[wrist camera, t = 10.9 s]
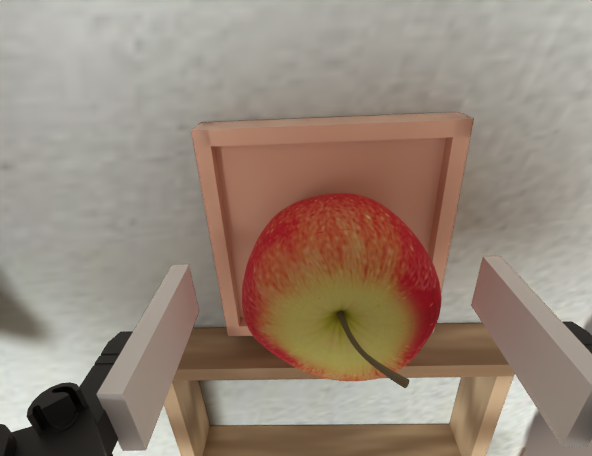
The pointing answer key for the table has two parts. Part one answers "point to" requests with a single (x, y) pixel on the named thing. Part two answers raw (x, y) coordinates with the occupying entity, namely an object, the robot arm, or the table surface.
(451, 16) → the table surface
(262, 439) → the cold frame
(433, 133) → the dish
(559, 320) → the robot arm
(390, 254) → the apple
